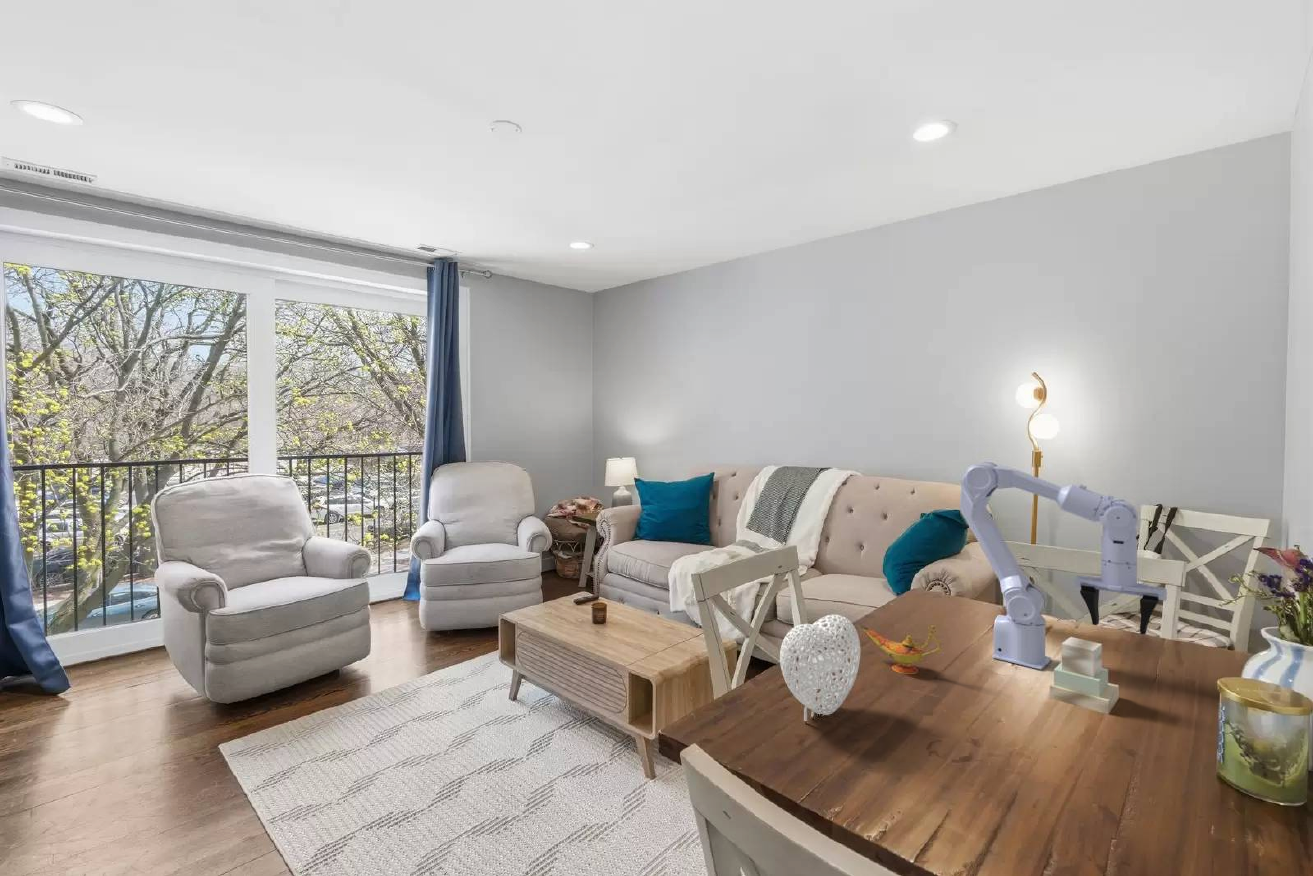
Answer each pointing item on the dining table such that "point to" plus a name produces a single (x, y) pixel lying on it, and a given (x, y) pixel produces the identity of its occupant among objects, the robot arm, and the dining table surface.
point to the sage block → (1081, 681)
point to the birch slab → (1087, 698)
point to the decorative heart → (821, 663)
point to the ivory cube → (1082, 657)
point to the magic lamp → (902, 650)
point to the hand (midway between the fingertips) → (1118, 628)
